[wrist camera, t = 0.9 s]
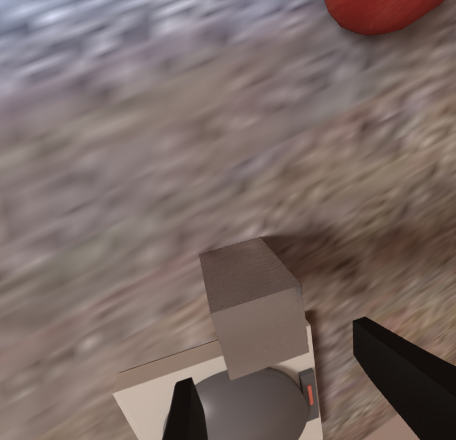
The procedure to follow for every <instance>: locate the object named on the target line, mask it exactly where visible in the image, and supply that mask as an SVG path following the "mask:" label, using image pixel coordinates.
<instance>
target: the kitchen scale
mask: <svg viewBox="0 0 456 440" xmlns="http://www.w3.org/2000/svg"><path fill="white" fill-rule="evenodd" d="M305 320H306V319H305ZM306 328H307V336H308V345H309V353H306V354H303V355H300V356H298V357H295V358H292V359H289V360H287V361H284V362H281V363H278V364H275V365H273V366H270V367H267V368H264V369H262V370H259V371H256V372H253V373H250V374H248V375H245V376H242V377H239V378H237V379H234V380H230V377H229V374H228V370H227V367H226V364H225V360H224V357H223V354H222V350H221V347H220V344H219V340H216V341H213V342H210V343H208V344H205V345H202V346H199V347H196V348H193V349H190V350H187V351H184V352H181V353H178V354H175V355H172V356H169V357H166V358H163V359H160V360H157V361H154V362H151V363H148V364H145V365H142V366H139V367H136V368H133V369H130V370H127V371H124V372H121V373H118V374H117V377H116V381H115V385H114V388H113V392H112V394H113V396H114V398H115V399H116V401H117V403H118V405H119V406H120V408H121V410H122V412H123V413H124V415H125V417H126V418H127V420H128V422H129V424H130V425H131V427H132V429H133V431H134V432H135V434H136V436H137V438H138V439H139V440H162V437H163V434H164V430H165V427H166V422H167V418H168V414H169V410H170V406H171V401H172V397H173V392H174V386H175V384H176V382H178V381H181V380H184V379H187V378H190V377H192V379H193V382H194V384H195V387H196V390H197V392H198V395H199V397H200V400H201V403H202V405H203V408H204V413H205V420H206V427H207V434H208V440H323V435H322V426H321V417H320V408H319V399H318V390H317V381H316V372H315V363H314V354H313V345H312V336H311V327H310V324H309V323H308V321H307V320H306Z"/></svg>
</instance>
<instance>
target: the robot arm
mask: <svg viewBox="0 0 456 440" xmlns="http://www.w3.org/2000/svg"><path fill="white" fill-rule="evenodd" d="M353 354H354V356H355V357H356V359H357V360H358V362H359V364H360V365H361V367H362V368H363V370H364V371H365V372H366V374H367V375H368V377H369V378H370V380H371V381H372V382H373V383H374V384H375V386H376V387H377V388H378V389H379V391H380V392H381V393H382V394H383V395H384V397H385V398H386V399H387V400H388V402H389V403H390V404H391V405H392V406H393V408H394V409H395V410H396V411H397V412H398V414H399V415H400V416H401V417H402V418H403V419H404V421H405V422H406V423H407V424H408V426H409V427H410V428H411V429H412V430H413V432H414V433H415V434H416V435H417V436H418V438H419V439H420V440H456V366H454V365H452V364H450V363H448V362H446V361H444V360H442V359H440V358H438V357H437V356H435V355H433V354H431V353H429V352H427V351H425V350H423V349H422V348H420V347H418V346H416V345H414V344H412V343H411V342H409V341H407V340H405V339H404V338H402V337H400V336H398V335H397V334H395V333H393V332H391V331H390V330H388V329H386V328H384V327H383V326H381V325H379V324H377V323H376V322H374V321H372V320H370V319H369V318H367V317H362V318H359V319H356V320H354V321H353ZM162 440H208V434H207V427H206V420H205V413H204V408H203V405H202V403H201V400H200V397H199V395H198V392H197V390H196V387H195V384H194V382H193V379H192V377H190V378H187V379H184V380H181V381H178V382H176V384H175V386H174V392H173V397H172V401H171V406H170V410H169V414H168V418H167V422H166V427H165V430H164V434H163V437H162Z"/></svg>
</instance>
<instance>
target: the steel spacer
mask: <svg viewBox="0 0 456 440" xmlns="http://www.w3.org/2000/svg"><path fill="white" fill-rule="evenodd" d="M199 257H200V262H201V267H202V272H203V278H204V283H205V288H206V293H207V298H208V303H209V309H210V314H211V317H212V320H213V324H214V327H215V330H216V334H217V337H218V340H219V344H220V347H221V350H222V354H223V357H224V360H225V364H226V367H227V370H228V374H229V377H230V380H234V379H237V378H239V377H242V376H245V375H248V374H250V373H253V372H256V371H259V370H262V369H264V368H267V367H270V366H273V365H275V364H278V363H281V362H284V361H287V360H289V359H292V358H295V357H298V356H300V355H303V354H306V353H309V345H308V336H307V328H306V320H305V311H304V303H303V294H302V286H301V284H300V283H299V282H298V280H297V279H296V278H295V277H294V276H293V275H292V274H291V272H290V271H289V270H288V269H287V268H286V267H285V265H284V264H283V263H282V262H281V261H280V260H279V259H278V257H277V256H276V255H275V254H274V253H273V252H272V250H271V249H270V248H269V247H268V246H267V245H266V244H265V242H264V241H263V240H262V239H261V238H260V237H258V238H254V239H251V240H247V241H244V242H240V243H237V244H233V245H230V246H226V247H223V248H219V249H216V250H212V251H209V252H205V253H202V254H199Z"/></svg>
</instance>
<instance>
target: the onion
mask: <svg viewBox="0 0 456 440" xmlns="http://www.w3.org/2000/svg"><path fill="white" fill-rule="evenodd" d="M324 1H325V3H326V6H327V9H328V12H329V13H330V14H331V16H332V17H333V18H334V19H335V20H336V22H337V23H338V24H339V25H340V26H341V27H342V28H345V29H348V30H350V31H353V32H355V33H359V34H363V35H367V36H369V35H378V34H386V33H390V32H393V31H397V30H401V29H403V28H405V27H406V26H408V25H409V24H411V23H413V22H414V21H416V20H417V19H419V18H420V17H422V16H423V15H425V14H426V13H428V12H429V11H431V10H432V9H434V8H435V7H437V6H438V5H440V4H441V3H442V2H443V1H444V0H324Z"/></svg>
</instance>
